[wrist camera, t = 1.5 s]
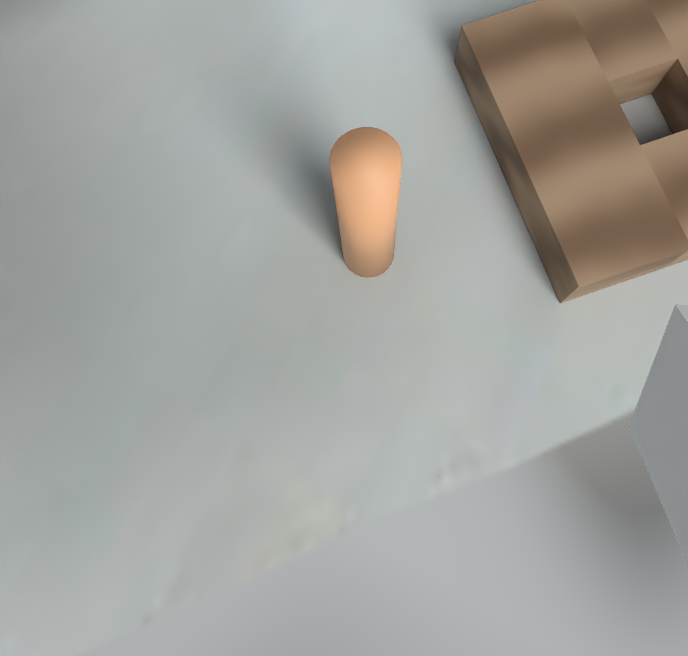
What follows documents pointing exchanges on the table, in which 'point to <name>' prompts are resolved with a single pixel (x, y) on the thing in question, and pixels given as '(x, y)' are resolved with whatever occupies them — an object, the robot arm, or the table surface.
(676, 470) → the robot arm
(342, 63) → the table surface
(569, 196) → the hole block
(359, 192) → the peg
